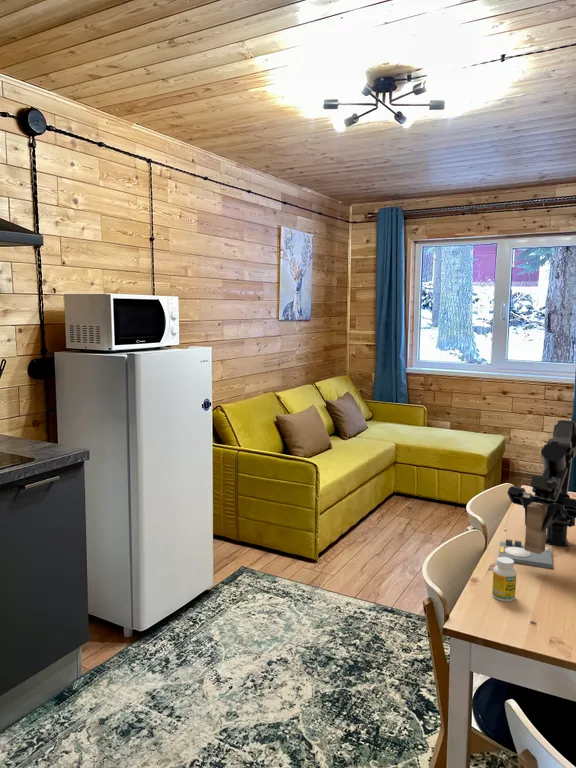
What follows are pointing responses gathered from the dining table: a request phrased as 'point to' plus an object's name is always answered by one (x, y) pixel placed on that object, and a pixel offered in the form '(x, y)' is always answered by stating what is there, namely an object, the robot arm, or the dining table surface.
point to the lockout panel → (525, 554)
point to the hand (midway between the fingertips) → (534, 528)
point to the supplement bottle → (504, 580)
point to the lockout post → (535, 528)
